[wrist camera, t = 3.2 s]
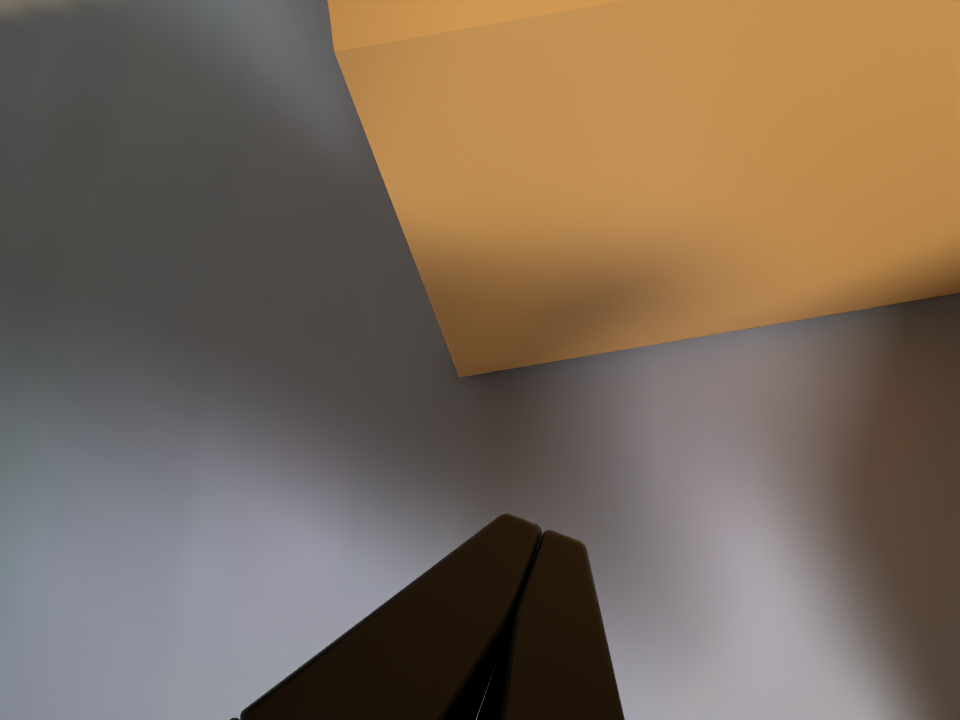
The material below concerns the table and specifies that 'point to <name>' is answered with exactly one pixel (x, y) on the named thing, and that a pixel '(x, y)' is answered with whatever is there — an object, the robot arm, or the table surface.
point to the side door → (659, 162)
